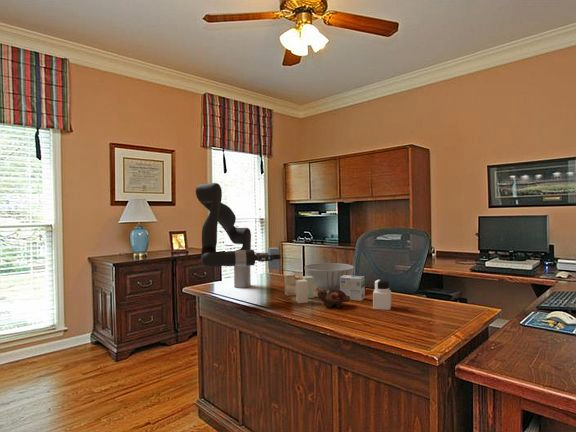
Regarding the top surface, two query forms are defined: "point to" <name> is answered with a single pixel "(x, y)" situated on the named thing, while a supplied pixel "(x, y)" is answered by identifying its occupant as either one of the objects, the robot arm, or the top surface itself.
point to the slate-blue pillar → (275, 263)
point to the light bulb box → (353, 287)
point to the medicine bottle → (382, 295)
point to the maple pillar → (290, 284)
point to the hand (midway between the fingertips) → (278, 256)
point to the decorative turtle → (333, 297)
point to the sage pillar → (310, 285)
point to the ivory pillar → (302, 291)
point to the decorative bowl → (328, 274)
